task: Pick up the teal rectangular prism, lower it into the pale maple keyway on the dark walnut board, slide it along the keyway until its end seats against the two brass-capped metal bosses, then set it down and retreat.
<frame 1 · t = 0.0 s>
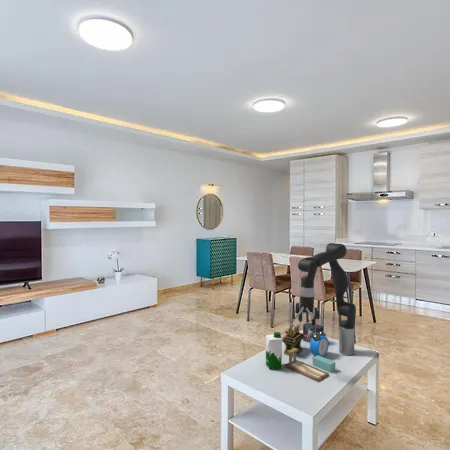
hand: (306, 323, 179), 29 cm above the table, fingers open, 8 cm apart
small box: (313, 341, 227), on the table
teal rectangular prism: (323, 368, 188), on the table
alarm clock: (319, 356, 204), on the table
decorative box: (291, 353, 208), on the table
board: (305, 370, 184), on the table
milk carton: (273, 367, 189), on the table
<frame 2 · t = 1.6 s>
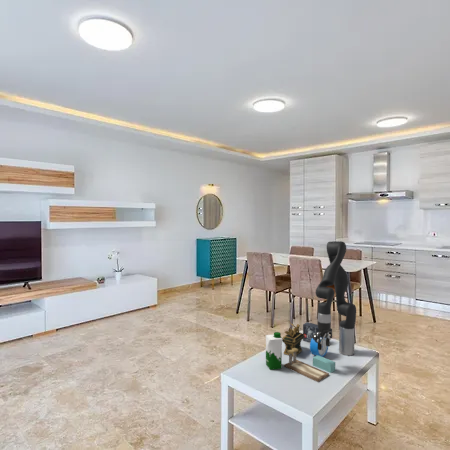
hand: (323, 347, 187), 12 cm above the table, fingers open, 8 cm apart
nothing on the table moved.
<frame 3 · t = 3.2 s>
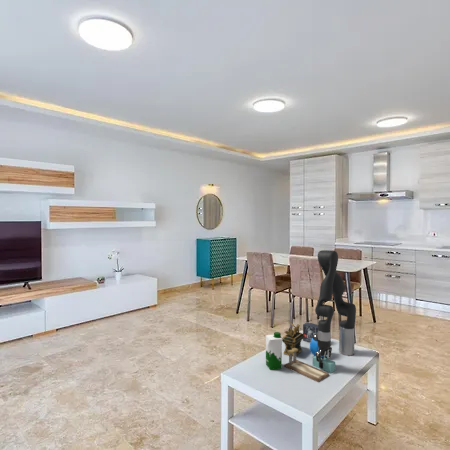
hand: (323, 366, 187), 1 cm above the table, fingers closed on teal rectangular prism, 5 cm apart
teal rectangular prism: (323, 367, 187), on the table, touching gripper
everything else where it was.
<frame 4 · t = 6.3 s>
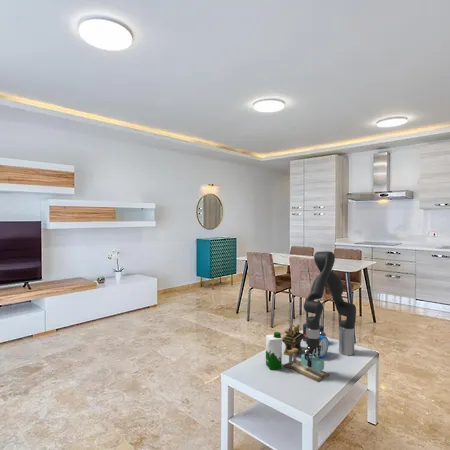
hand: (312, 365, 180), 5 cm above the table, fingers closed on teal rectangular prism, 5 cm apart
teal rectangular prism: (312, 366, 180), point 4 cm above the table, touching gripper
everything else where it was.
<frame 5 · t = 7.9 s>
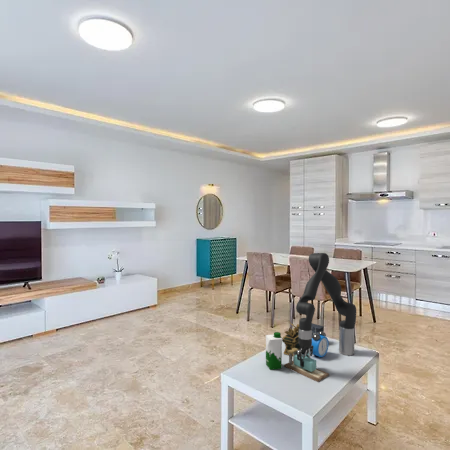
hand: (304, 365, 184), 3 cm above the table, fingers closed on teal rectangular prism, 5 cm apart
teal rectangular prism: (304, 366, 184), point 2 cm above the table, touching gripper
everything else where it was.
when the fingers open (2 cm above the table, at t = 9.4 s): teal rectangular prism stays where it is, resting on board.
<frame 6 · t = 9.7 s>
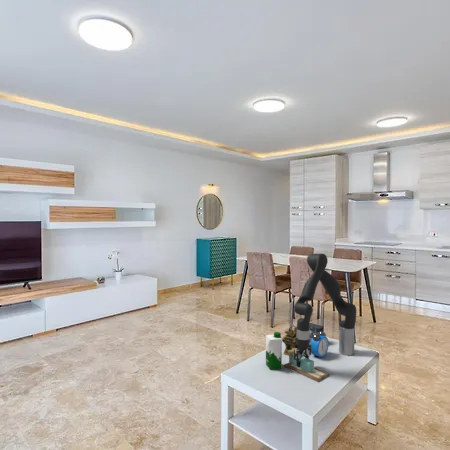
hand: (302, 364, 185), 3 cm above the table, fingers open, 7 cm apart
teal rectangular prism: (302, 367, 185), point 1 cm above the table, touching board
everything else where it was.
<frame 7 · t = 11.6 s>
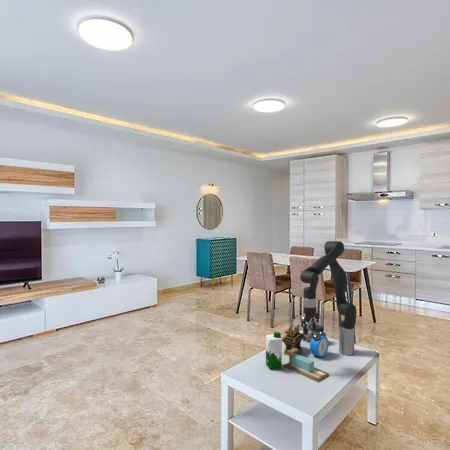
hand: (310, 332, 187), 21 cm above the table, fingers open, 8 cm apart
nothing on the table moved.
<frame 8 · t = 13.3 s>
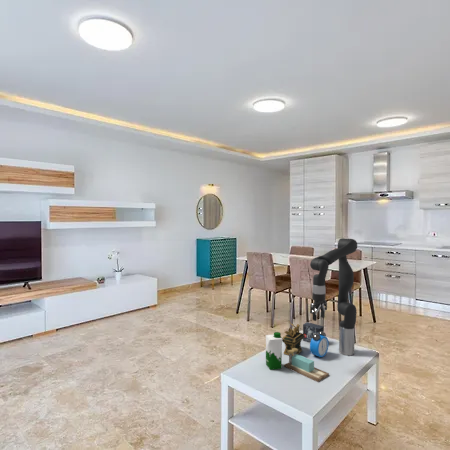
hand: (318, 319, 190), 28 cm above the table, fingers open, 8 cm apart
nothing on the table moved.
at the end: teal rectangular prism 0.5 cm from the target spot, point 1.3 cm above the table; teal rectangular prism tilted 0°; the gripper is holding nothing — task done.
